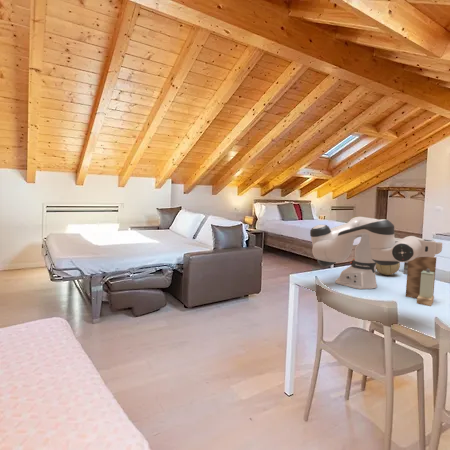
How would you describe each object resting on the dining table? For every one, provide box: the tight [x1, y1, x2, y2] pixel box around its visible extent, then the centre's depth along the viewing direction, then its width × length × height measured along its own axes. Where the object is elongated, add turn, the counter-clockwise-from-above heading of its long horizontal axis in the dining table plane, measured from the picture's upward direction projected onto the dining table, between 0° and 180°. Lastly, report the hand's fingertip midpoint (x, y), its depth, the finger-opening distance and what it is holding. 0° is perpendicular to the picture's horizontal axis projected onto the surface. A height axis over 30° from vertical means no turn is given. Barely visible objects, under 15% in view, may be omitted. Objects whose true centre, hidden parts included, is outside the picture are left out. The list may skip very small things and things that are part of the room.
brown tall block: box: [405, 256, 437, 307], centre depth 172 cm, size 12×16×22 cm
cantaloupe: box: [376, 262, 401, 276], centre depth 218 cm, size 15×15×15 cm
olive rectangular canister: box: [419, 269, 436, 298], centre depth 168 cm, size 5×5×14 cm
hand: (417, 242), depth 153 cm, fingers open, 8 cm apart
